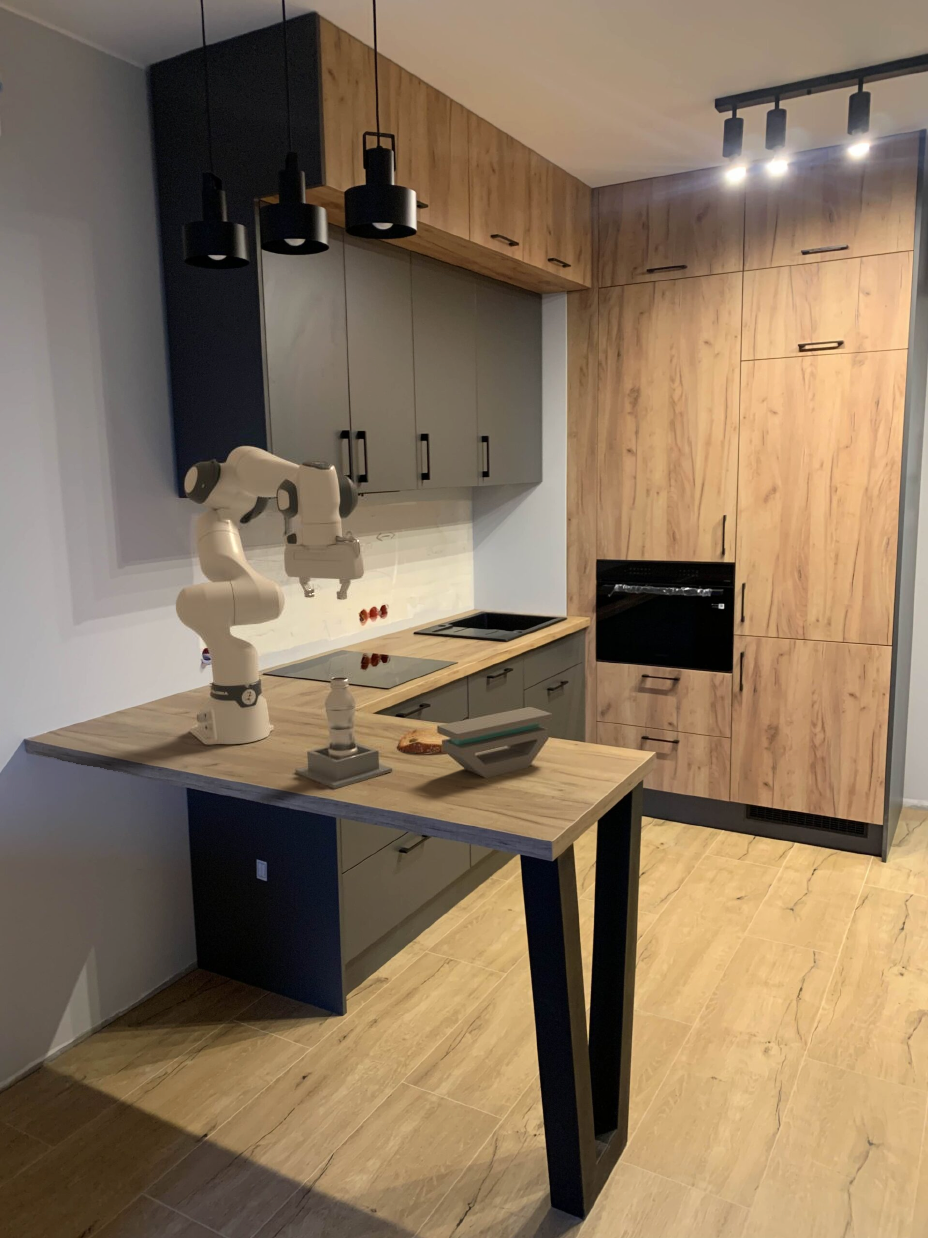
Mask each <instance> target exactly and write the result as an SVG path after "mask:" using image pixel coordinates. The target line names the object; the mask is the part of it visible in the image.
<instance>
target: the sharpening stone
mask: <svg viewBox="0 0 928 1238" xmlns="http://www.w3.org/2000/svg"><path fill="white" fill-rule="evenodd" d="M551 721H553V713H551V712H548V711H544V710H542V709H539V708H537V707H536V708H535V707H533V706H528V707H523V708H519V709H518V708H517V709H513V710H507V711H504V712H497V713H493V714H488V715H482V716H479V717H474V718H468V719H463V720H458V721H455V722H450V723H445V724H440V725H436V728H437V733H439V734H441V735H444V736H446V737H449V739H444V740H442V750H443V751H444V752H446V753H445V754H446V755H448V756H449V757H450V758H452V759H453V760H454V761H455V762H456V763H457V764H459V765H460V766H461V767H462V768H463V769H465V770H467V771H469V772H471V773H473V774H476V775H478V776H480V777H482V778H485V779H486V778H491V777H495V776H499V775H504V774H506V773H510V772H515V771H519V770H523V769H528V768H529V767H530V766H531V764H533V762H534V760H535V758H536V757H537V756H538V755H539V753H540V752H541V750H542V749H543V748H544V746H545V744H546V743H547V742H548V740H549V728H547V727H543V726H540V725H539V724H542V723H546V722H551Z"/></svg>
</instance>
